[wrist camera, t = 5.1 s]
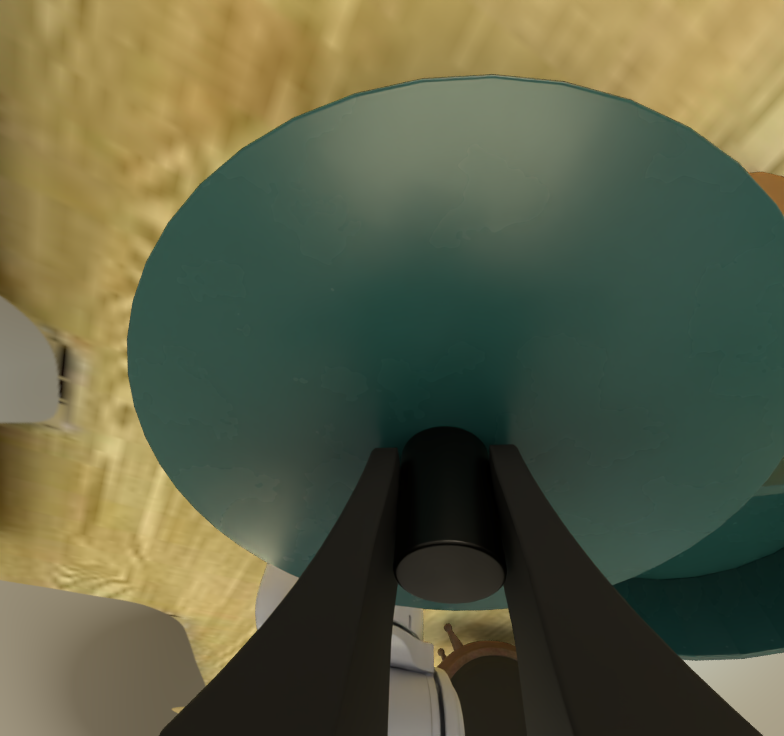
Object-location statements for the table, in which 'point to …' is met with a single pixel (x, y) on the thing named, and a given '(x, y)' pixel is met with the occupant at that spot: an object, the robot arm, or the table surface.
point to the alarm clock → (486, 686)
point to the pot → (722, 585)
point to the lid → (468, 329)
